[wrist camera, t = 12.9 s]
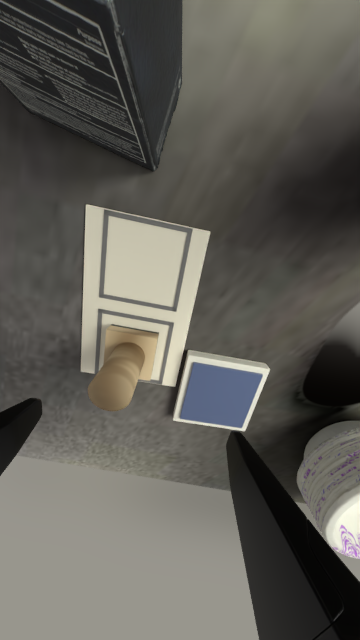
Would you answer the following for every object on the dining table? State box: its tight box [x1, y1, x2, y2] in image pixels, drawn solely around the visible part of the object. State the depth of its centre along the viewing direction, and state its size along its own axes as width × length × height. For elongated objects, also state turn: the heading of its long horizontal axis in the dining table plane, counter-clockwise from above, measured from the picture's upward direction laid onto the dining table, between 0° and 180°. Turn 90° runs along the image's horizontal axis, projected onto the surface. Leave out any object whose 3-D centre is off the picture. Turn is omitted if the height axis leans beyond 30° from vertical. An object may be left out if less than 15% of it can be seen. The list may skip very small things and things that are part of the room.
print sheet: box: [81, 204, 210, 387], centre depth 19 cm, size 11×17×1 cm, turn 169°
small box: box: [0, 0, 182, 171], centre depth 9 cm, size 11×6×10 cm, turn 68°
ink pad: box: [173, 350, 270, 431], centre depth 21 cm, size 9×9×2 cm
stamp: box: [88, 324, 159, 411], centre depth 17 cm, size 5×5×7 cm
